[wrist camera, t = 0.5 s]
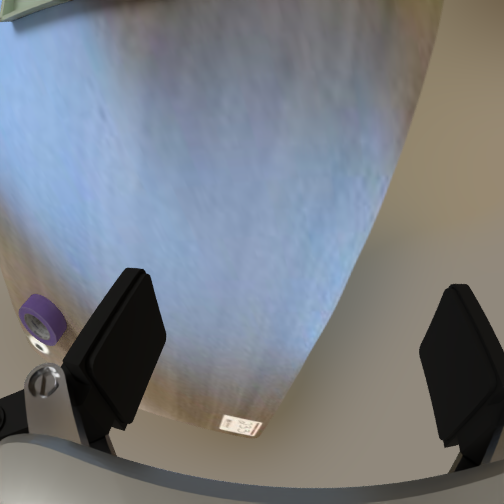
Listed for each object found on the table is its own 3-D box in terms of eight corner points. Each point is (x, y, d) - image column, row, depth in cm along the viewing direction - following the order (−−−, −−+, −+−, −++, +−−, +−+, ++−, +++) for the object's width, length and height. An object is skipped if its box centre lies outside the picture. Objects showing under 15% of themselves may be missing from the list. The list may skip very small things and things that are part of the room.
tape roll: (28, 312, 62) (18, 325, 58) (30, 284, 56) (18, 298, 52) (64, 338, 64) (55, 353, 60) (69, 314, 59) (58, 329, 54)
